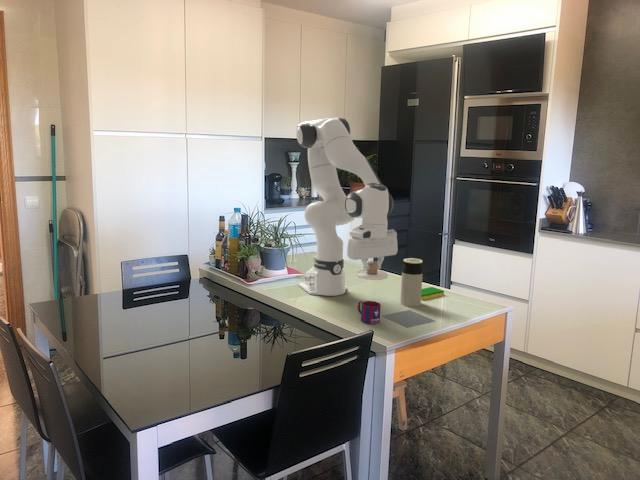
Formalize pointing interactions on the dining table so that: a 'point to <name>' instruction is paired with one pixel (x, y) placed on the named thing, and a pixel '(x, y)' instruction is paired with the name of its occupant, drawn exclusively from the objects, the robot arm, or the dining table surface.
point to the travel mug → (411, 282)
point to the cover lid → (372, 272)
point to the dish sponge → (431, 293)
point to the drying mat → (408, 318)
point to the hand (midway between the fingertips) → (372, 269)
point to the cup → (370, 312)
